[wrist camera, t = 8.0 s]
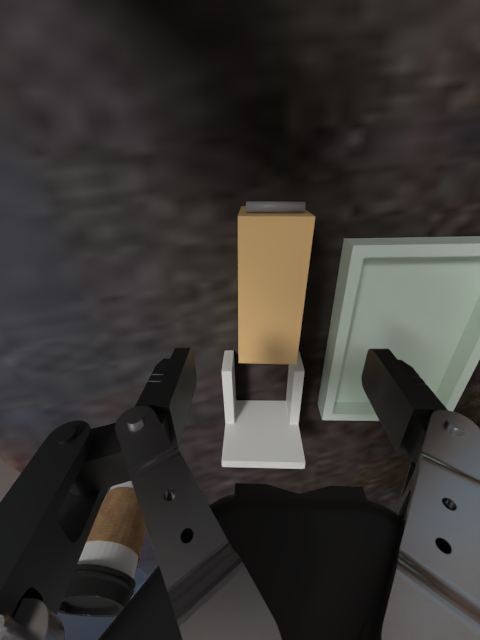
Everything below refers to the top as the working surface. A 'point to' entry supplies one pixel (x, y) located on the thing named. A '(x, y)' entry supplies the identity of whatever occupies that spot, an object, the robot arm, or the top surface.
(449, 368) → the tray
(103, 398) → the top surface
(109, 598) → the coffee cup
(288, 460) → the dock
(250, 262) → the box with top handle
